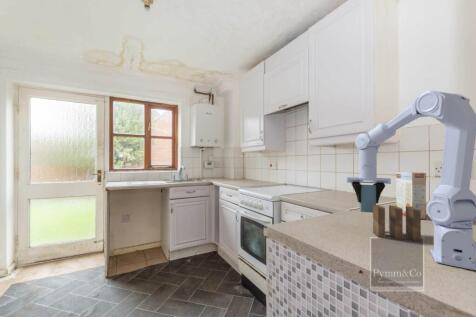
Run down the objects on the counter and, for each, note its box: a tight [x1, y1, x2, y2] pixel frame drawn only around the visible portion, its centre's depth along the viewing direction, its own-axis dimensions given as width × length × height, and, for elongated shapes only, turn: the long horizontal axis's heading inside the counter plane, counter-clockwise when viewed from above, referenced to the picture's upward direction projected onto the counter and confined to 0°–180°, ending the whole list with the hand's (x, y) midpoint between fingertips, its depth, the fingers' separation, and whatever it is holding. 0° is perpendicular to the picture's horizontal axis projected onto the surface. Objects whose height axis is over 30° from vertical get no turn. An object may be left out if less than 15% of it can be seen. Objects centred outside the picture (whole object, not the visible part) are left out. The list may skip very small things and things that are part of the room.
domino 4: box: [405, 206, 422, 242], centre depth 72 cm, size 2×5×10 cm, turn 165°
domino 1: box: [359, 184, 377, 214], centre depth 82 cm, size 2×5×10 cm, turn 75°
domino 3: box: [388, 204, 404, 240], centre depth 73 cm, size 2×5×10 cm, turn 165°
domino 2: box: [372, 204, 386, 239], centre depth 75 cm, size 2×5×10 cm, turn 165°
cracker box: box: [395, 171, 427, 220], centre depth 104 cm, size 14×6×21 cm, turn 168°
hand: (367, 202), depth 82 cm, fingers closed on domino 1, 5 cm apart
